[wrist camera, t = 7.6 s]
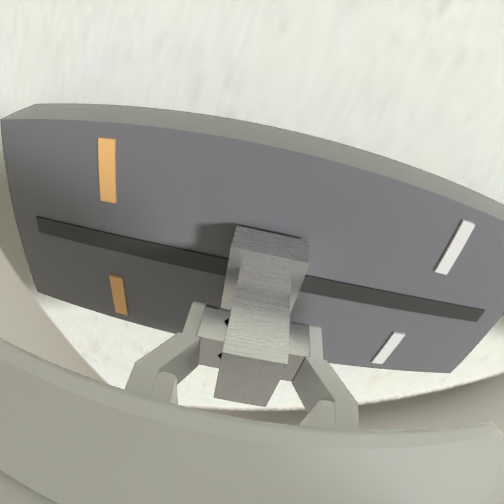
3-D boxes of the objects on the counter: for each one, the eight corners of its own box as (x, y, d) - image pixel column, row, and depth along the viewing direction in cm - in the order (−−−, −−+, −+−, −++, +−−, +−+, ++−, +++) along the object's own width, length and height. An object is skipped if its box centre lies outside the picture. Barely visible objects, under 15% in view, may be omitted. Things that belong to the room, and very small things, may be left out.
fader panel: (525, 215, 14) (551, 244, 11) (440, 342, 21) (450, 374, 19) (35, 104, 13) (-2, 120, 11) (58, 265, 20) (36, 292, 18)
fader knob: (308, 240, 13) (313, 349, 9) (280, 319, 16) (272, 417, 12) (236, 225, 13) (208, 330, 9) (222, 308, 16) (199, 404, 12)
